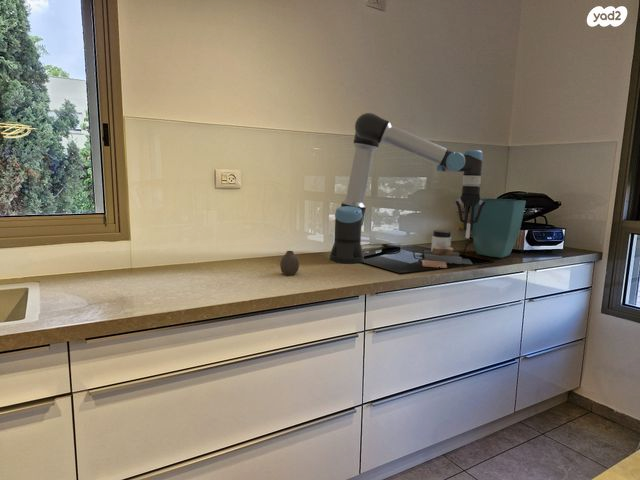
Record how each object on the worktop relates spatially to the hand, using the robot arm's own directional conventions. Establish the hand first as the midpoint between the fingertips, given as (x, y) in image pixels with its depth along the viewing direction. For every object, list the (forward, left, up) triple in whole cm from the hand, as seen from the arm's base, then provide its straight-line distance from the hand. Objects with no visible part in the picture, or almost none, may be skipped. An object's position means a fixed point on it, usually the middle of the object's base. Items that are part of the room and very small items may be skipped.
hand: (467, 237), depth 189 cm
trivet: (-14, -13, -11) cm, 22 cm away
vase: (-68, -52, -11) cm, 87 cm away
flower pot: (+17, +25, -11) cm, 32 cm away
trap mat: (0, 0, -11) cm, 11 cm away
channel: (-10, 0, -11) cm, 15 cm away
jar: (-10, +13, -11) cm, 20 cm away
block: (-10, 0, -11) cm, 15 cm away
